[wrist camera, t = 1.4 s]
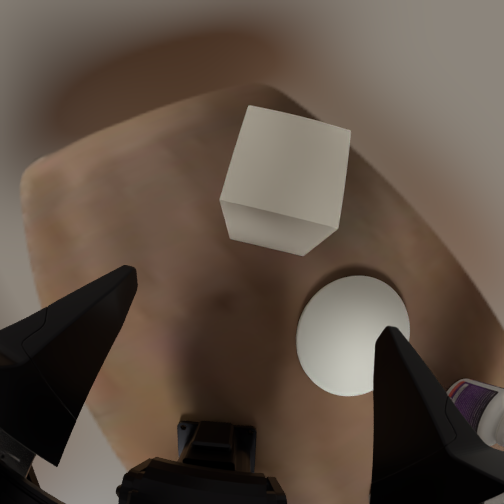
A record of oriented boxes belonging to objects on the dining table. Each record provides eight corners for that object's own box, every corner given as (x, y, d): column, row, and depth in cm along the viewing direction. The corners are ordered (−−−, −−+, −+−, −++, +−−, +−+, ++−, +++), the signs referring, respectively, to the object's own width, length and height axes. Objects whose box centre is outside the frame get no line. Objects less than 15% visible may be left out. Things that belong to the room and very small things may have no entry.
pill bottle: (434, 431, 21) (492, 466, 11) (441, 384, 22) (508, 407, 12) (470, 417, 21) (528, 441, 11) (477, 372, 22) (541, 387, 12)
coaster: (400, 387, 22) (404, 389, 21) (292, 396, 22) (293, 399, 21) (406, 277, 23) (411, 276, 23) (298, 274, 23) (299, 273, 23)
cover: (303, 256, 24) (338, 228, 14) (230, 238, 24) (219, 199, 14) (316, 188, 24) (351, 130, 15) (247, 172, 25) (248, 105, 15)
